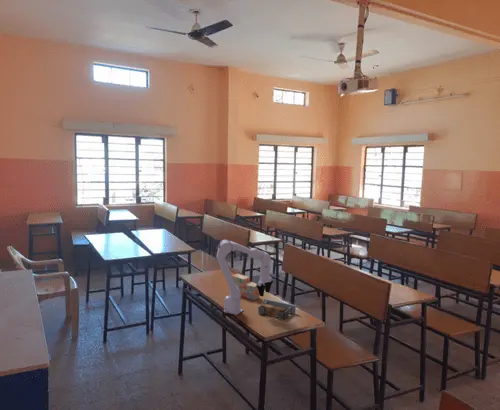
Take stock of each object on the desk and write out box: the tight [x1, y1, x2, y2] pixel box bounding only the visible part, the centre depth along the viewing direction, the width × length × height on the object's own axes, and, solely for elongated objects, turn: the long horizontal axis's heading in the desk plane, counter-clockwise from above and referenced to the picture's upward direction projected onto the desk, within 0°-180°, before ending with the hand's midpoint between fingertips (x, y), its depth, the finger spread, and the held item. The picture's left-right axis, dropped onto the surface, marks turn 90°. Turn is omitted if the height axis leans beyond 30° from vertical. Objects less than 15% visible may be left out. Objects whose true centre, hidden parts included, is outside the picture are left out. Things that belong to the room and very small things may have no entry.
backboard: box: [263, 298, 297, 315], centre depth 234 cm, size 21×5×5 cm, turn 60°
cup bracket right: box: [277, 308, 290, 320], centre depth 225 cm, size 4×7×4 cm, turn 150°
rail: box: [261, 303, 286, 317], centre depth 228 cm, size 14×4×5 cm, turn 60°
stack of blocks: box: [232, 273, 261, 301], centre depth 260 cm, size 21×6×12 cm, turn 46°
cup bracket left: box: [257, 302, 266, 316], centre depth 232 cm, size 4×7×4 cm, turn 150°
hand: (264, 294), depth 234 cm, fingers open, 7 cm apart
